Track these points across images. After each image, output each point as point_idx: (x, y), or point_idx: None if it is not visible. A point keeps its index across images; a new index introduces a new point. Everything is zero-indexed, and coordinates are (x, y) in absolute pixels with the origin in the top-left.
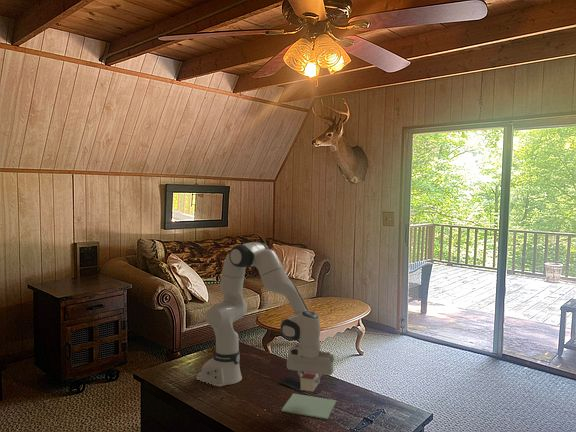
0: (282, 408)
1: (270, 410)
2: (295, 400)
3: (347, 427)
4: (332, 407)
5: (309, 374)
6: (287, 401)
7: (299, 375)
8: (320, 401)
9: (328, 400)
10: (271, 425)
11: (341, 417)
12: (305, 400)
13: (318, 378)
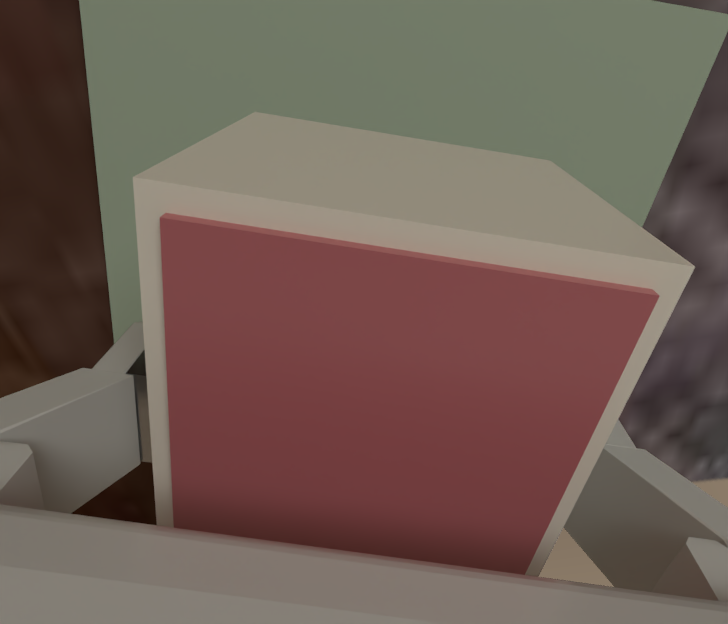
0: (114, 328)
1: (22, 347)
2: (180, 132)
3: (704, 480)
4: (640, 224)
5: (345, 547)
6: (98, 175)
7: (65, 488)
8: (501, 95)
9: (617, 42)
10: (141, 521)
11: (693, 360)
12: (302, 104)
13: (598, 556)
